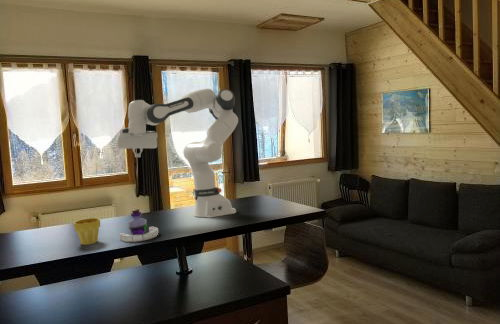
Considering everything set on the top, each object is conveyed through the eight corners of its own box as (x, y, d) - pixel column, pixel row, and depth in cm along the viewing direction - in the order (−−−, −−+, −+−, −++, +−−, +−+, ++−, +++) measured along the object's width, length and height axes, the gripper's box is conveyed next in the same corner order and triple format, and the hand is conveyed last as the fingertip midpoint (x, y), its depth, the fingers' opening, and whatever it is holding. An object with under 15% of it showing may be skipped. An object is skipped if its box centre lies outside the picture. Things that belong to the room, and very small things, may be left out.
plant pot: (87, 247, 168) (84, 224, 167) (71, 245, 173) (68, 222, 172) (107, 240, 177) (104, 218, 176) (91, 238, 182) (88, 217, 181)
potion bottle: (148, 236, 177) (145, 210, 176) (128, 239, 175) (125, 212, 174) (147, 232, 185) (145, 206, 184) (128, 235, 183) (125, 209, 182)
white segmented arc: (119, 239, 176) (119, 234, 176) (153, 231, 186) (152, 226, 186) (129, 244, 167) (129, 238, 167) (164, 235, 178) (164, 229, 177)
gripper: (157, 131, 217) (157, 157, 217) (117, 131, 211) (117, 157, 211) (158, 130, 211) (158, 156, 211) (117, 130, 205) (117, 157, 205)
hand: (137, 157), depth 211 cm, fingers closed
